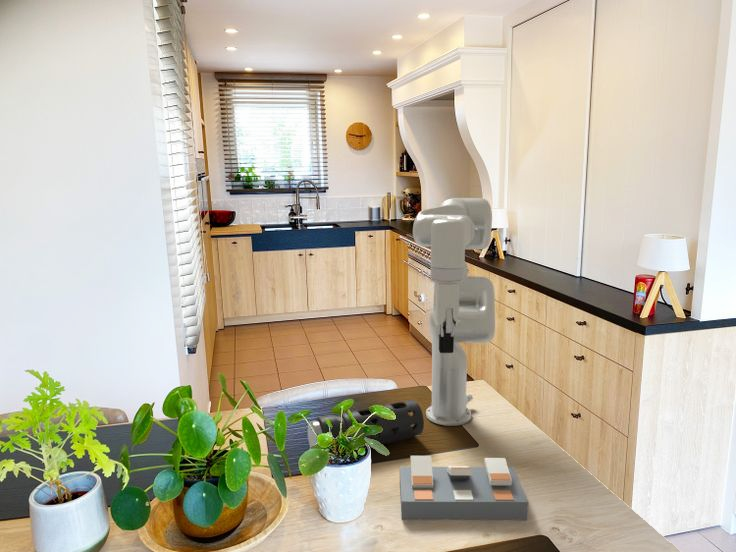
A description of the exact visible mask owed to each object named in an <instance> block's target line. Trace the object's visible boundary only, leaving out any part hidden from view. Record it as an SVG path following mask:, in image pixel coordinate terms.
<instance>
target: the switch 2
mask: <svg viewBox="0 0 736 552" xmlns="http://www.w3.org/2000/svg"><path fill="white" fill-rule="evenodd" d="M446 467H447V472H448V473H449V478H450V479H469V475H472V469H471V468H469V467H470V466H468V465H446Z"/></svg>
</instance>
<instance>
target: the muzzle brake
mask: <svg viewBox="0 0 736 552" xmlns="http://www.w3.org/2000/svg"><path fill="white" fill-rule="evenodd" d="M382 406H383V407H386V408H389V409H390V410H391V411H393V412H394V413H395V415H396V419H395V420H387V419H384V418H381V417H379V416H377V415H372V416H371V417H370V418H369V419H368V420H367V421H366V422H365V424H366V425H377V426H381V427H382V428H383V431H382V432H381V433H378V434H376V435H370V436H367V438H370V439H374V440H377V441H379V442H380V443H382V444H381V445H386V444H391V443H395V442H400V441H404V440H408V439H414V438H415V437H416V436H420V435H421V434H422V433H423V432H424V428H425V427H424V426H425V420H424V415H423V411H422V408H421V406H420V405H419V403H418V402H417V401H416V400H415V399H409V400H404V401H399V402H394V403H390V404H389V403H388V404H384V405H383V404H382ZM369 408H370V407H368V408H363V409H358V410H353V411H350V412H351V413H352V415H353V417H354V418H355V419H356V421H357V422H358V423H363V422H364V421H365V420H366V419H367V418H368V416H370V415H371V412H370V411H369ZM410 413H412V415H410ZM341 414H342V413H340V414H339V415H338V416H337V415H335V414H328V415H327V414H326V415H322V416H317V417H316V418H315V419H314V420H312V421H309V422H308V424H310V425H311V427H312V428H313V430H314V431H315V432H316V433H317V434H321V433H327V432H329V427H328V425H327V424H326V422H325V419H329V420H330V422H331V424H332V426H333V427H332V429H331V432H332V435H333V437H334V438H336V437H337V436H338V435H339V431H340V423H341ZM342 422H343V424H342V430H343V432H346V430H347V429H348V428H349V427H350V426H352V421H351V419H348V415H347V412H343V414H342ZM412 425H413V426H412ZM307 440H308V445H309V448H310V449H311V447H312V446H314V445H315V444H316V443H317V437H316V435H315V434H314V432H313V431H312V430H311V428H310V427H309V425H307Z"/></svg>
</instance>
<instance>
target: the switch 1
mask: <svg viewBox="0 0 736 552" xmlns="http://www.w3.org/2000/svg"><path fill="white" fill-rule="evenodd" d="M410 467H411V480H412V488H433V474H432V467H433V463H432V455H410Z"/></svg>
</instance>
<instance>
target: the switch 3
mask: <svg viewBox="0 0 736 552" xmlns="http://www.w3.org/2000/svg"><path fill="white" fill-rule="evenodd" d="M483 460H484V461H483V462H484V467H486V471H487V477H488V480H489V483H490V485H512V479H511V476H510V472H509V469H508V467H509V466H508V463H507V460H506V457H484V459H483Z"/></svg>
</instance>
